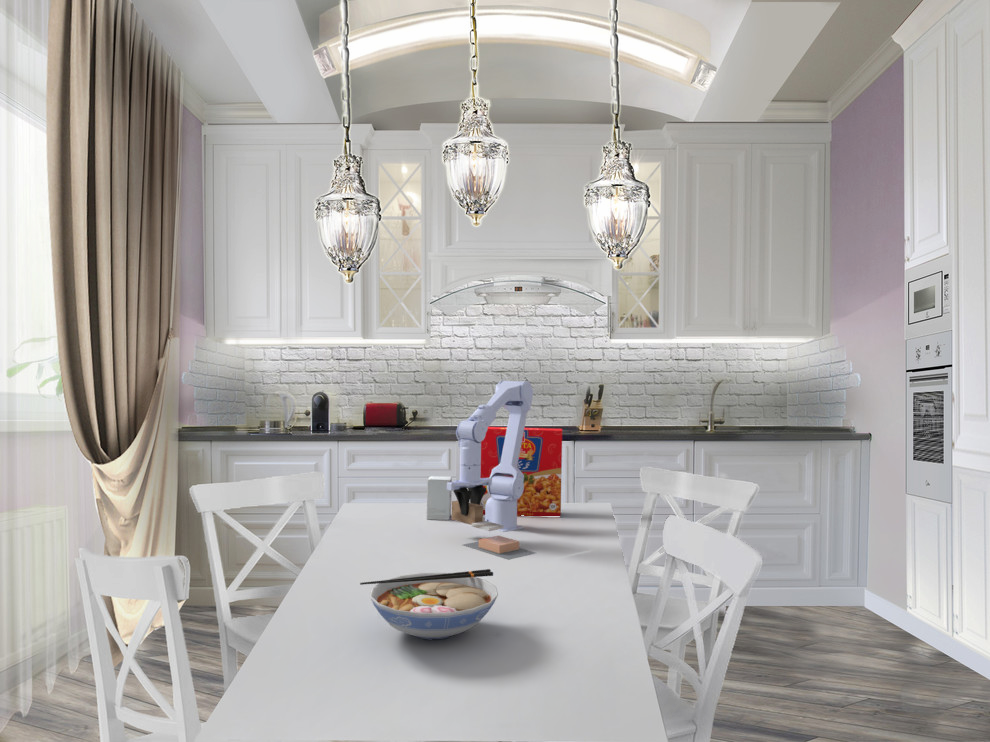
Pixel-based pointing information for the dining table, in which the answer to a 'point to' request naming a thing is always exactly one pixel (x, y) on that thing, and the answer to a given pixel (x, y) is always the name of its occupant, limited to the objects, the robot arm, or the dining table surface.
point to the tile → (499, 544)
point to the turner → (473, 517)
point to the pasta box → (529, 468)
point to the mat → (507, 555)
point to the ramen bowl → (434, 602)
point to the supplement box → (438, 498)
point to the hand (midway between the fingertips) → (469, 514)
